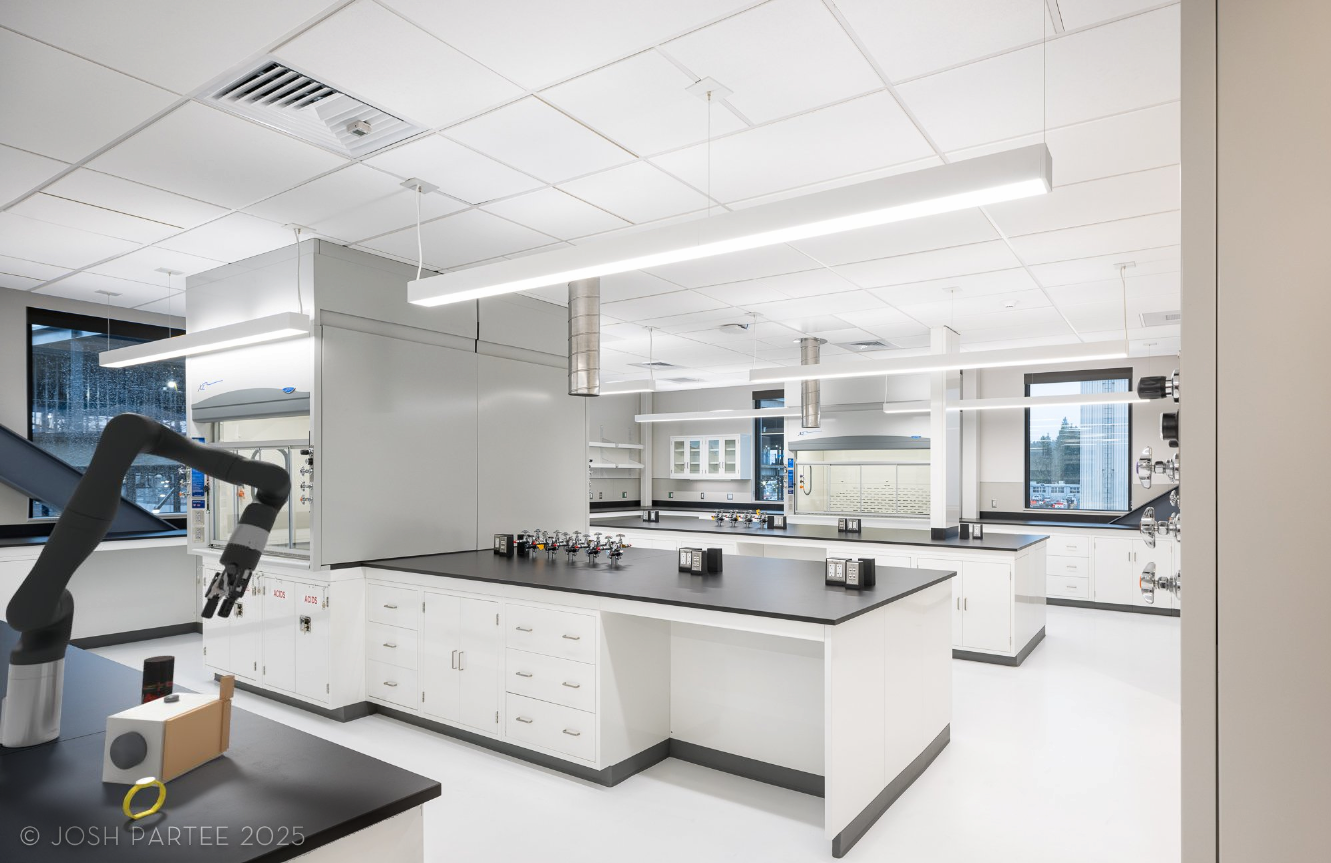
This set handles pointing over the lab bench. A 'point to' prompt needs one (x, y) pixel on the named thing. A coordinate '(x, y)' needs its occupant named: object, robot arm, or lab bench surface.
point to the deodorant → (157, 678)
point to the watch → (139, 784)
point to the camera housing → (145, 738)
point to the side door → (198, 733)
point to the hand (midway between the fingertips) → (213, 617)
